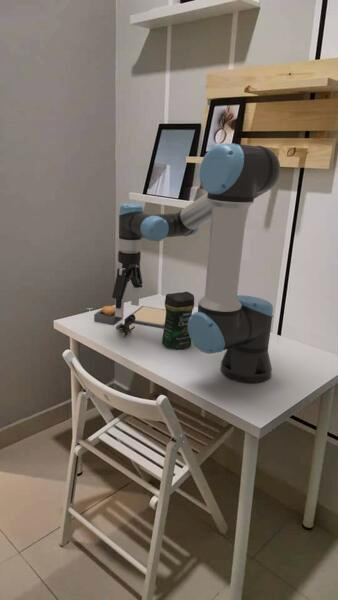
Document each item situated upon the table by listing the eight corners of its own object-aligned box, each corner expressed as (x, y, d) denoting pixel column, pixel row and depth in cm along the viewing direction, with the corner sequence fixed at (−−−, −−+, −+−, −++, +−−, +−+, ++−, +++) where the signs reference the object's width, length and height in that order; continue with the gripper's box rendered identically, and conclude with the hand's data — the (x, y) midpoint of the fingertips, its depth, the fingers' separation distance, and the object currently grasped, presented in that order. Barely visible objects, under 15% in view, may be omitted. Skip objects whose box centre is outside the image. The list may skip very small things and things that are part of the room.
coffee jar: (171, 352, 153) (174, 298, 148) (158, 343, 160) (161, 291, 154) (195, 347, 159) (199, 294, 153) (182, 339, 165) (185, 288, 159)
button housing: (113, 325, 174) (114, 317, 173) (94, 321, 177) (94, 314, 176) (122, 318, 181) (122, 311, 181) (103, 315, 184) (103, 308, 183)
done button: (111, 316, 176) (111, 310, 175) (100, 314, 177) (100, 308, 176) (116, 313, 180) (117, 306, 179) (105, 311, 181) (106, 305, 180)
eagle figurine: (141, 335, 164) (140, 321, 171) (130, 320, 160) (129, 307, 168) (122, 345, 165) (122, 331, 173) (111, 330, 162) (111, 316, 169)
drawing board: (164, 328, 174) (164, 325, 173) (124, 321, 178) (124, 319, 178) (179, 314, 190) (179, 311, 190) (142, 308, 195) (142, 305, 194)
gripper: (133, 243, 170) (131, 298, 176) (102, 256, 147) (101, 320, 154) (153, 245, 168) (150, 302, 174) (124, 259, 145) (122, 324, 152)
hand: (127, 310), depth 164 cm, fingers open, 13 cm apart
